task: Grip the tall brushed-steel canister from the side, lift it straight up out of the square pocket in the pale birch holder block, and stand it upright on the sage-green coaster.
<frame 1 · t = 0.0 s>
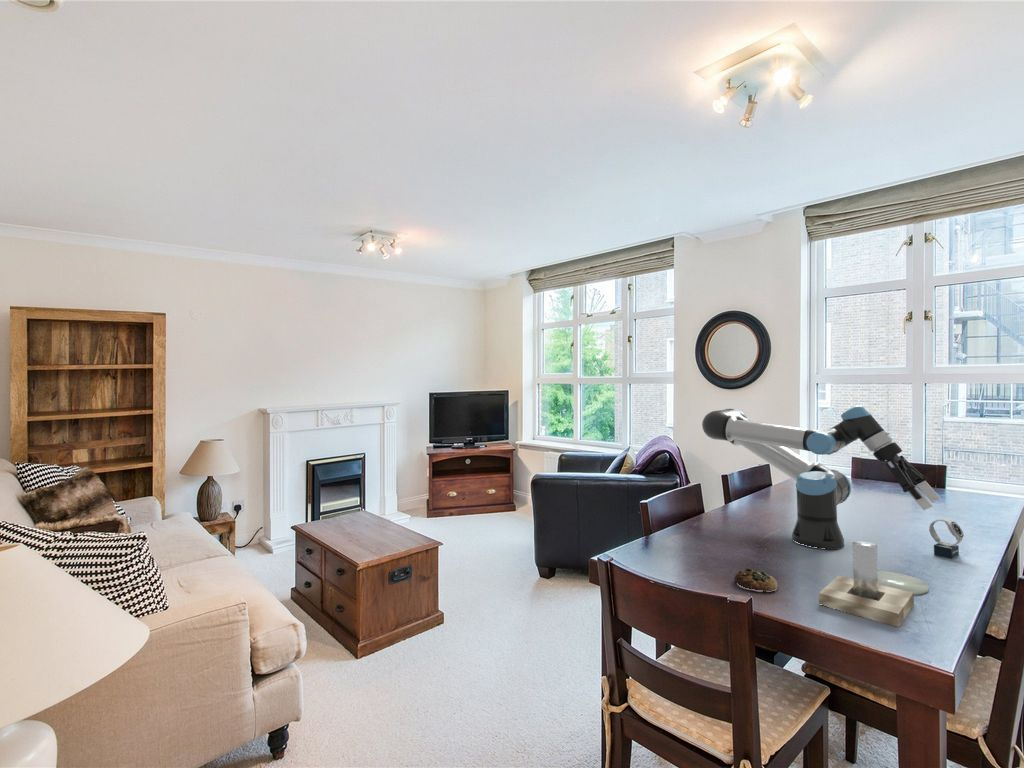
hand: (932, 504, 159), 15 cm above the table, tool tilted 35°, fingers open, 13 cm apart
watch: (946, 555, 157), on the table
holder block: (866, 604, 124), on the table
coaster: (895, 583, 136), on the table
bread roll: (756, 587, 138), on the table
canister: (866, 605, 124), resting in holder block
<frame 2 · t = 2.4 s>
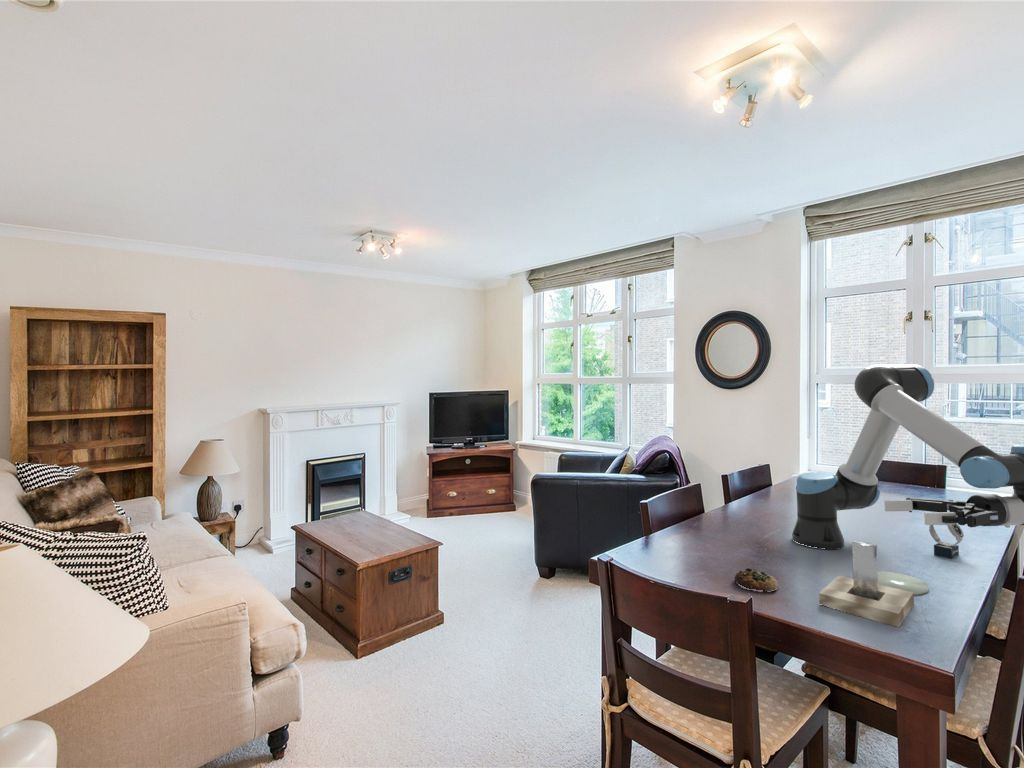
hand: (904, 512, 124), 23 cm above the table, tool horizontal, fingers open, 13 cm apart
nothing on the table moved.
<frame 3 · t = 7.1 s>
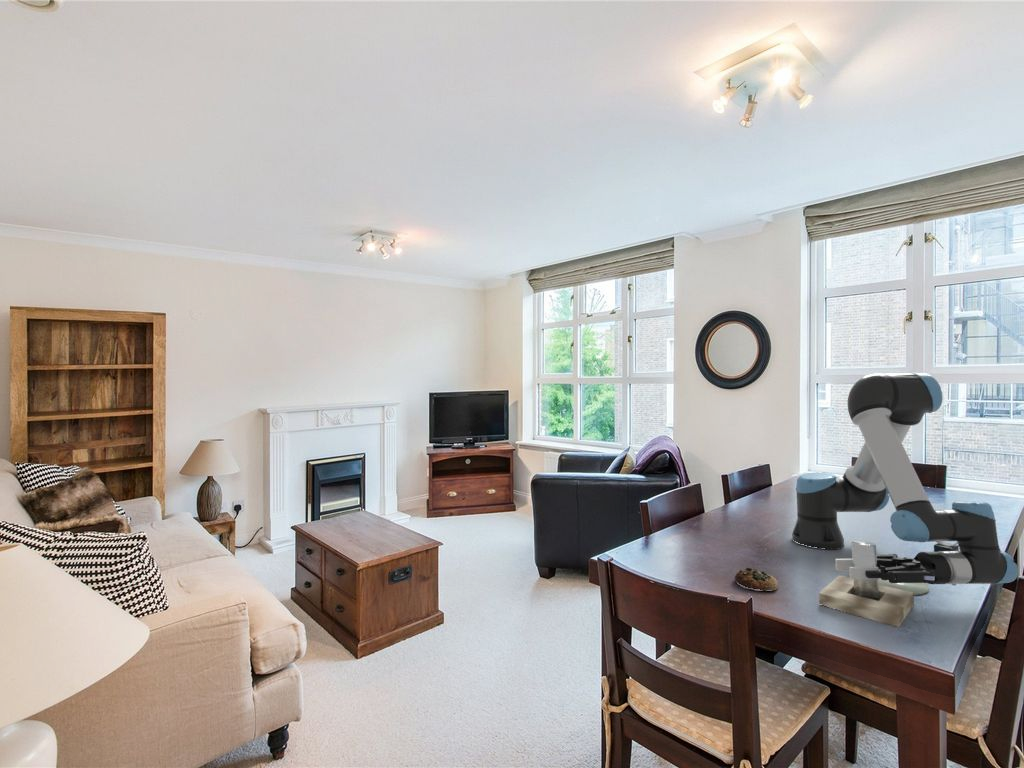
hand: (843, 568, 125), 9 cm above the table, tool horizontal, fingers closed on canister, 5 cm apart
canister: (867, 605, 124), resting in holder block, touching gripper
everything else where it was.
when the fingers open (11 cm above the table, at t = 13.2 s): canister drops 1 cm, resting on coaster.
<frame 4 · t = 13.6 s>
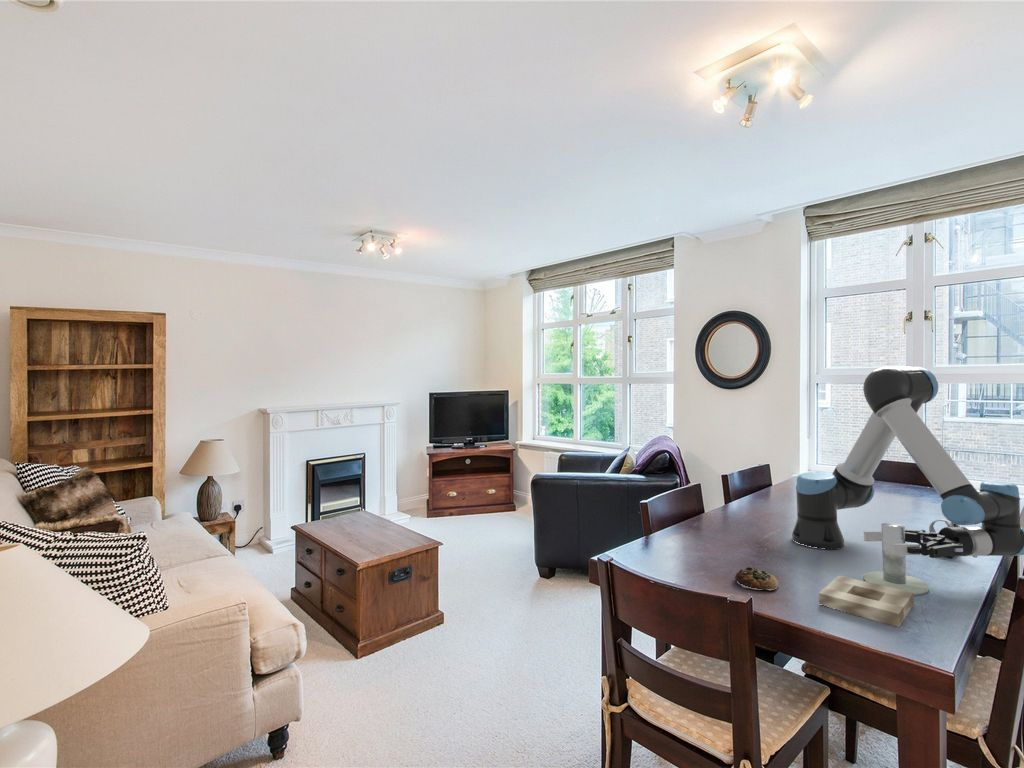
hand: (878, 542, 136), 11 cm above the table, tool horizontal, fingers open, 10 cm apart
canister: (894, 580, 137), point 1 cm above the table, touching coaster
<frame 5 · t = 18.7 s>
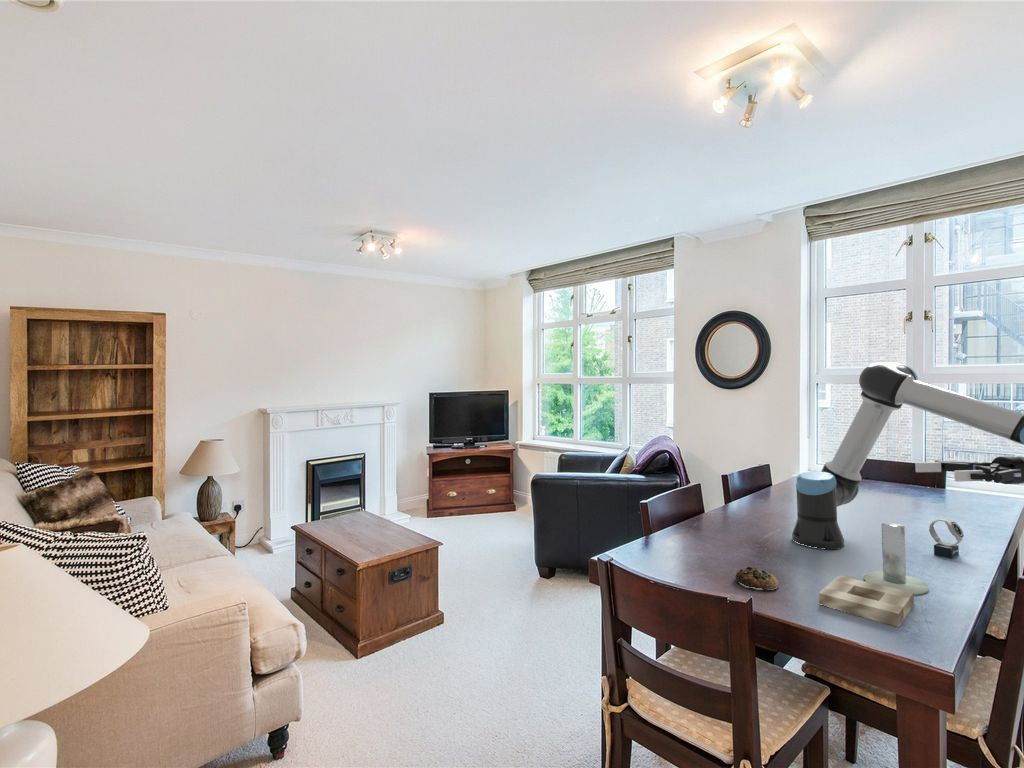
hand: (934, 471, 137), 30 cm above the table, tool horizontal, fingers open, 13 cm apart
at the end: canister inside the target area on the coaster (0.4 cm from its centre), point 0.8 cm above the coaster's base; canister tilted 0°; the gripper is holding nothing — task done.
